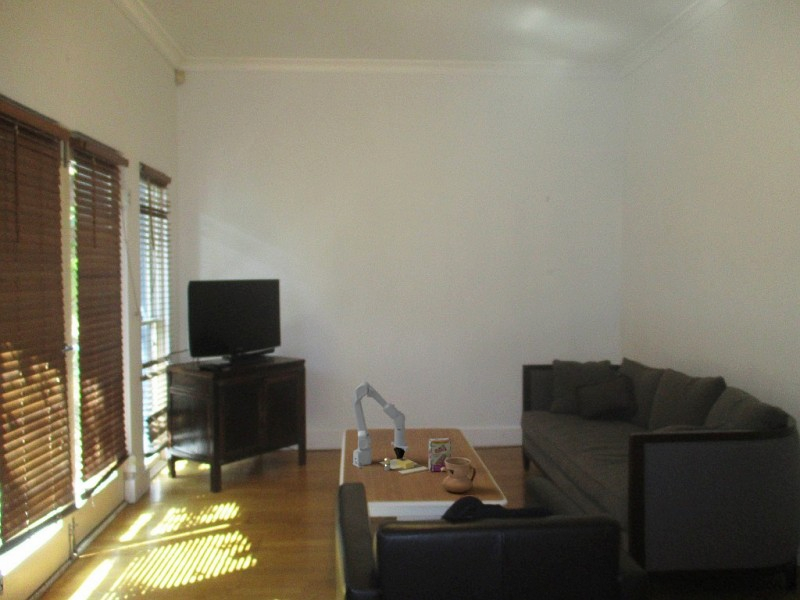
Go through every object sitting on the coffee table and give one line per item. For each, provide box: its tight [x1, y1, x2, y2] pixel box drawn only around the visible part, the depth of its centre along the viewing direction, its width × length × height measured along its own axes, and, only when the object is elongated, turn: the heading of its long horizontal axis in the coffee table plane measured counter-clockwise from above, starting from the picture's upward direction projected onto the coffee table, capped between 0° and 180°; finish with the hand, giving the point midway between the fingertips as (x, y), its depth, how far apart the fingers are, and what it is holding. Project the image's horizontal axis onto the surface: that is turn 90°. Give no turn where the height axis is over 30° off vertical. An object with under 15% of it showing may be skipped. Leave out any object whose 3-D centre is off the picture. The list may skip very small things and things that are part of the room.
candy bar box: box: [427, 437, 452, 473], centre depth 353 cm, size 11×5×16 cm, turn 102°
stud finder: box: [396, 457, 415, 469], centre depth 357 cm, size 5×9×3 cm, turn 32°
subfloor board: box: [378, 458, 429, 477], centre depth 359 cm, size 16×24×1 cm, turn 32°
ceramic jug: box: [440, 456, 477, 493], centre depth 322 cm, size 18×14×14 cm
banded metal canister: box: [383, 456, 391, 472], centre depth 351 cm, size 3×3×7 cm
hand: (399, 461), depth 362 cm, fingers closed
